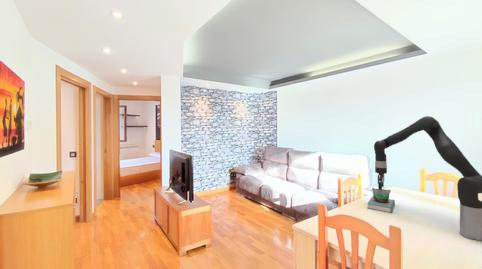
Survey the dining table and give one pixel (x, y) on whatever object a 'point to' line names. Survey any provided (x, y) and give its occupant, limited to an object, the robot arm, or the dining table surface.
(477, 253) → the dining table surface
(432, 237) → the dining table surface
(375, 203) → the book
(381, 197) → the food container
